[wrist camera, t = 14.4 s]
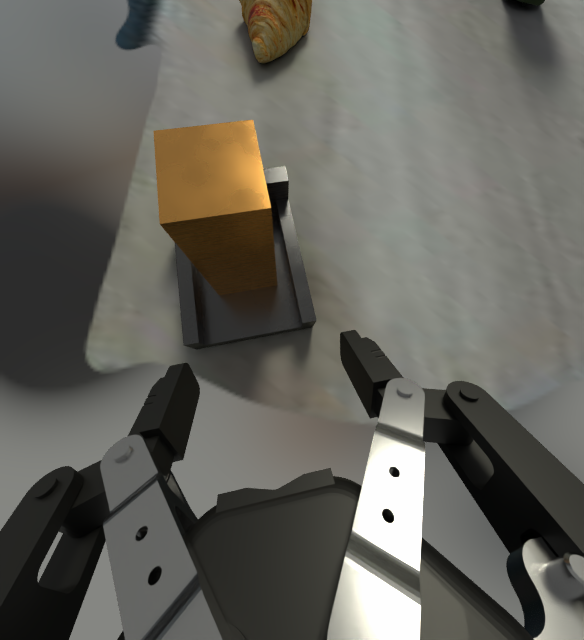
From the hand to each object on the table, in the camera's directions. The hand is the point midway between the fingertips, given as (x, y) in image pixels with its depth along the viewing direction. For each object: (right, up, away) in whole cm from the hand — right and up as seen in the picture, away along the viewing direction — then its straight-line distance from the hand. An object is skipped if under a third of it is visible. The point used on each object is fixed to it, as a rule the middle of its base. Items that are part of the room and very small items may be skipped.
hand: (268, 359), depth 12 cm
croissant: (-1, +45, +21) cm, 50 cm away
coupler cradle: (-4, +7, +11) cm, 13 cm away
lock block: (-3, +8, +10) cm, 13 cm away
